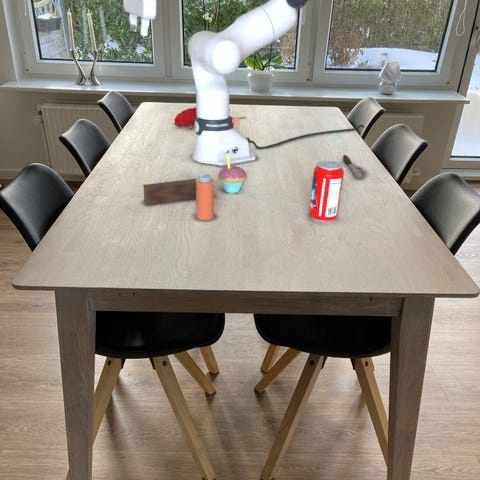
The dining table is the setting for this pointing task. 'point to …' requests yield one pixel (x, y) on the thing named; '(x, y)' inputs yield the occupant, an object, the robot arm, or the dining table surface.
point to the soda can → (326, 191)
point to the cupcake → (232, 177)
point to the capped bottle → (204, 197)
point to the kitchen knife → (354, 168)
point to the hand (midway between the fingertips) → (138, 33)
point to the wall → (169, 191)
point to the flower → (188, 117)
